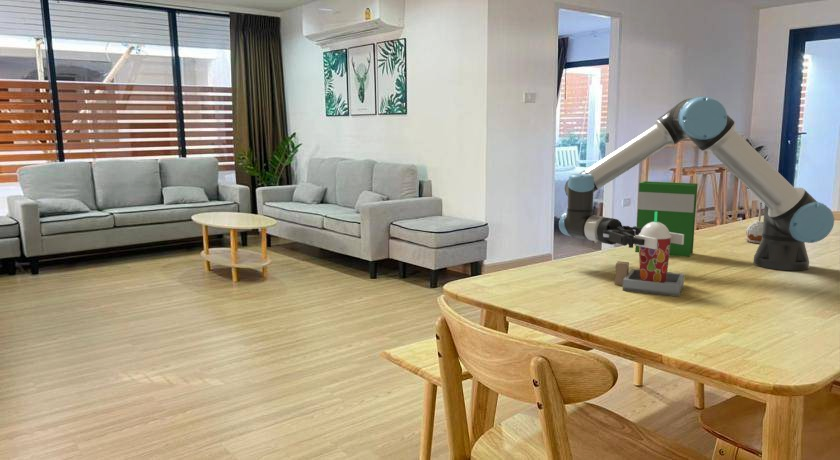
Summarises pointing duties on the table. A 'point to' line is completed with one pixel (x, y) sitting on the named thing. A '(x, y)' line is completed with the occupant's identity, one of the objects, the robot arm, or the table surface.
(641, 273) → the smoothie
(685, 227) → the hardback book
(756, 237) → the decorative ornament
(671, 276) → the tray
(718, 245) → the table surface
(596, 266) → the table surface
